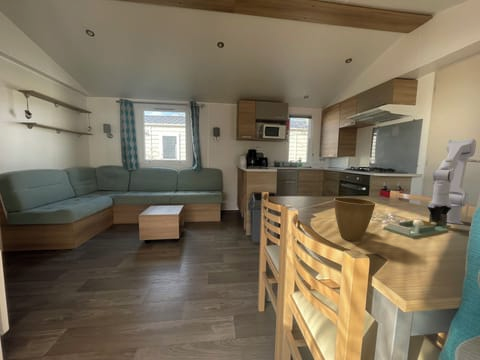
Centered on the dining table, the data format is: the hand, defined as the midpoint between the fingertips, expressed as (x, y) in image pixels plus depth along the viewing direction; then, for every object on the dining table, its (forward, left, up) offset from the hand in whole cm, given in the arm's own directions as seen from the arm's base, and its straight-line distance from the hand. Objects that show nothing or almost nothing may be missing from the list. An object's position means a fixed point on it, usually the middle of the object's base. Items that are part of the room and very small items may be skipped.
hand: (437, 220), depth 101 cm
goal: (+22, -16, -3) cm, 27 cm away
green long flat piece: (+10, -7, -3) cm, 13 cm away
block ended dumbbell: (+4, -3, -2) cm, 5 cm away
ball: (+12, -9, 0) cm, 16 cm away
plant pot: (+42, -34, -3) cm, 55 cm away
